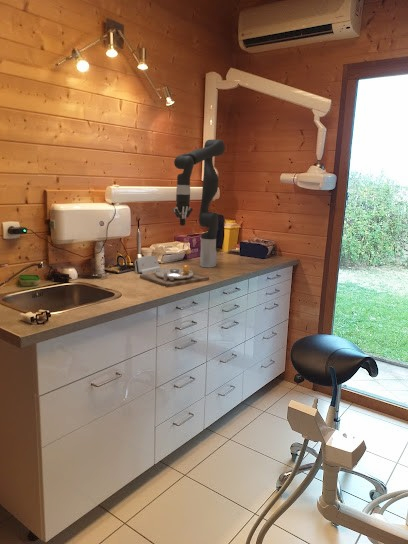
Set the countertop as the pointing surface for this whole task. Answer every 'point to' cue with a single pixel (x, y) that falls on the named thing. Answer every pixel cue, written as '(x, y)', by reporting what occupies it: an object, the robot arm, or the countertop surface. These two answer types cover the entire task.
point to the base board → (175, 282)
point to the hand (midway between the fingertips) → (182, 225)
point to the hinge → (147, 264)
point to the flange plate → (175, 273)
